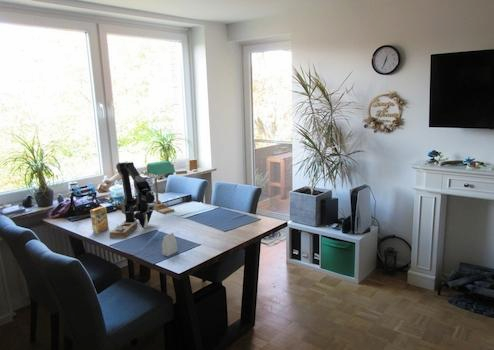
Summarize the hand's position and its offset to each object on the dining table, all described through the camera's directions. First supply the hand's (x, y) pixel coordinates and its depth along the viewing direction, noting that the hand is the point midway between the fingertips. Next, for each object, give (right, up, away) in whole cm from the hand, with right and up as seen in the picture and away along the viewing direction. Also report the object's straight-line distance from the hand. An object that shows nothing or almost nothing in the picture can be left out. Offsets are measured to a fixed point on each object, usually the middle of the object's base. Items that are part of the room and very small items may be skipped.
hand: (145, 225), depth 240 cm
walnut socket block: (-11, -4, -7) cm, 14 cm away
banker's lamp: (+2, +5, +40) cm, 40 cm away
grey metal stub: (-11, -4, -12) cm, 17 cm away
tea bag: (+23, -10, -39) cm, 47 cm away
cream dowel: (0, -2, 0) cm, 2 cm away
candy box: (-26, -4, -2) cm, 27 cm away
